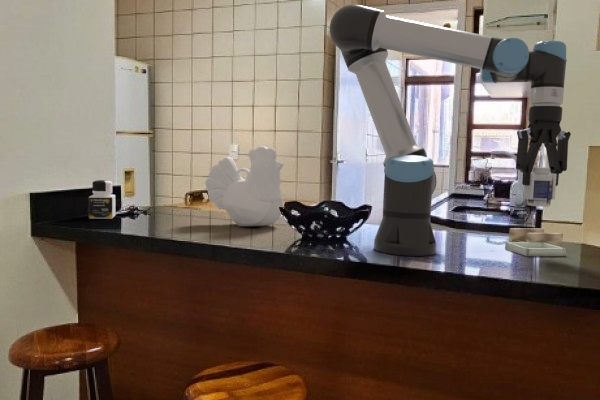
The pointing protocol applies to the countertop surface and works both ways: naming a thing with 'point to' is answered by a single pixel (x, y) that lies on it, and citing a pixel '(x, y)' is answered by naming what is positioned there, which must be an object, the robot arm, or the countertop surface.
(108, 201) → the medicine bottle
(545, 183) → the pill bottle
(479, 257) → the countertop surface
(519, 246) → the tray
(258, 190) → the decorative rooster
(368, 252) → the countertop surface
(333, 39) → the robot arm
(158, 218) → the countertop surface
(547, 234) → the clevis block
